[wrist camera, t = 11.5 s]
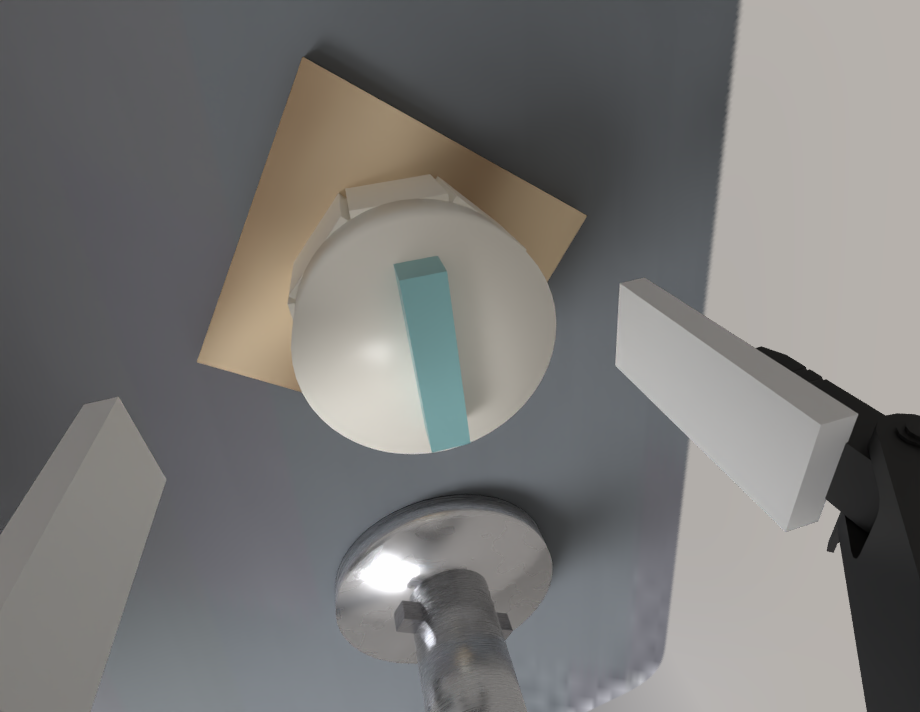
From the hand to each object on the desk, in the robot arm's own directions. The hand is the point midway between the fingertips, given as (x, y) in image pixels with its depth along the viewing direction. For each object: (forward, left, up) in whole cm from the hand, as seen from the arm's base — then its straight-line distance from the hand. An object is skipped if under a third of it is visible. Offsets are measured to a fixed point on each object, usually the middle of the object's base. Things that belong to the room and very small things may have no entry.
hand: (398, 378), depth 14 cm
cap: (+1, +1, -6) cm, 6 cm away
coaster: (+1, 0, -7) cm, 7 cm away
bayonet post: (+11, -15, -7) cm, 19 cm away
